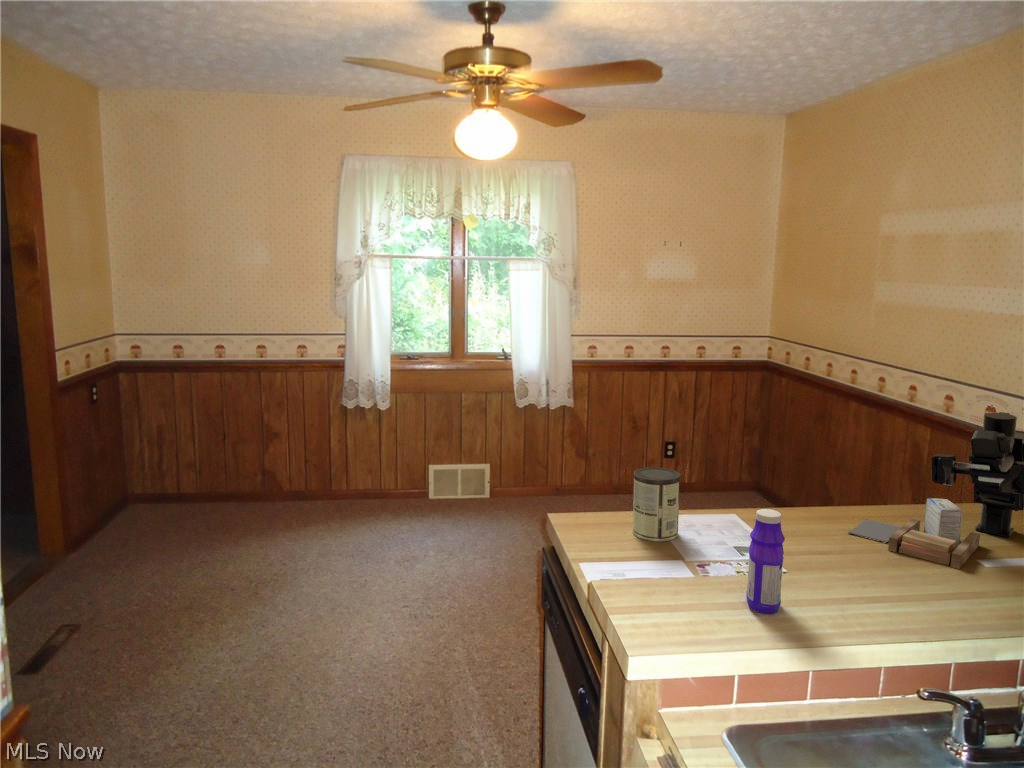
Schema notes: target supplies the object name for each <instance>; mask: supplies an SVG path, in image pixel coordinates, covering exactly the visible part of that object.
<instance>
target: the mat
mask: <svg viewBox="0 0 1024 768" xmlns="http://www.w3.org/2000/svg"><path fill="white" fill-rule="evenodd" d="M901 527H902V526H897V525H893V524H889V523H884V522H881V521H877V520H871V519H868V518H866V519H865V520H863V521H862V522H860V523H859V524H857V525H856V526H855V527H853V528H852V529H850V530H849V531H848V532H847V534H848V535H851V534H854V535H853V536H855V535H859V536H862V537H861V538H863V537H867V538H871V539H875V540H879V541H882V542H885V543H884V544H886V543H887V542H888V541H889V537H890V536H891V535H893V534H894V533H895V532H896V531H898V530H899V529H900V528H901ZM859 536H858V537H859ZM867 538H866V539H867ZM871 539H870V540H871ZM882 542H881V543H882ZM888 543H889V542H888ZM888 543H887V544H888Z"/></svg>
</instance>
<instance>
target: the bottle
mask: <svg viewBox="0 0 1024 768" xmlns="http://www.w3.org/2000/svg"><path fill="white" fill-rule="evenodd" d="M749 533H750V534H749V538H750V539H751V542H750V543H749V547H748V571H747V585H746V593H745V594H746V598H745V599H746V602H747V605H748V607H749V608H750V610H752V611H754V612H755V613H760V614H766V615H767V614H768V615H771V614H777V612H778V611H779V609H780V607H781V603H782V600H781V598H782V596H781V594H782V592H781V591H782V580H783V579H782V578H783V576H782V575H783V563H784V560H785V559H784V558H785V556H784V555H785V553H784V546H783V544H784V542H785V539H786V538H785V536H784V534H783V530H782V514H781V512H779V511H778V510H775V509H769V508H764V509H763V508H762V509H758V510H756V513H755V523H754V526H753V529H752V530H751V532H749Z"/></svg>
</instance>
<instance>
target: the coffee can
mask: <svg viewBox="0 0 1024 768" xmlns="http://www.w3.org/2000/svg"><path fill="white" fill-rule="evenodd" d="M681 477H682V476H681V473H680V472H678V471H677V470H674V469H670V468H665V467H654V466H652V467H651V466H650V467H649V466H648V467H643V468H642V467H641V468H638V469H635V470H634V471H633V504H632V508H633V509H632V510H633V512H632V533H633V535H634V536H635V537H637V538H639V539H641V540H644V541H650V542H663V543H664V542H668V541H669V542H670V541H673V540H675V539H677V538H678V536H679V514H680V513H679V511H680V488H681V487H680V486H681V484H680V483H681V482H680V481H681Z"/></svg>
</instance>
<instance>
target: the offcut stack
mask: <svg viewBox="0 0 1024 768" xmlns="http://www.w3.org/2000/svg"><path fill="white" fill-rule="evenodd" d="M955 546H956V541H955V540H951V539H947V538H943V537H939V536H935V535H931V534H927V533H924V531H920V530H919V531H915V530H910V531H909V532H907V533H906V534H905V535H903V539H902V542H901V546H900V547H899V550H898V553H900V554H902V553H903V554H902V555H907V556H911V557H915V558H919V559H922V560H927V561H930V562H933V563H938V564H941V565H945V566H951V558H952V552H953V551H954V550H955V549H956V548H955Z"/></svg>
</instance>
